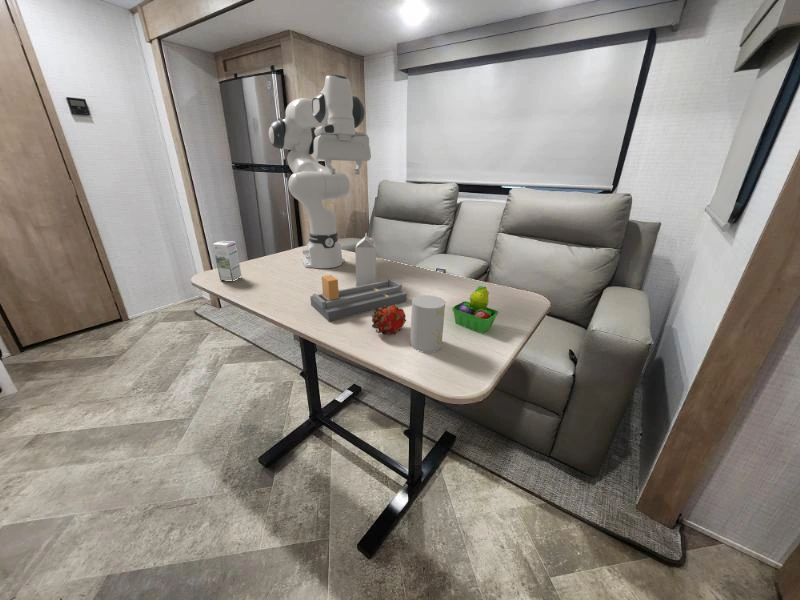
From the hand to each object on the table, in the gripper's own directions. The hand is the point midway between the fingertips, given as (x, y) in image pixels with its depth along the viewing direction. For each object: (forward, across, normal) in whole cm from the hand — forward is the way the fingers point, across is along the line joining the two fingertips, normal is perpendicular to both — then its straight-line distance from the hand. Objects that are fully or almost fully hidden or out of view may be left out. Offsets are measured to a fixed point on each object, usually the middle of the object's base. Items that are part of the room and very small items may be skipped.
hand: (345, 174), depth 114 cm
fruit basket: (+44, -13, +51) cm, 69 cm away
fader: (+38, +18, +20) cm, 46 cm away
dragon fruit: (+43, +10, +41) cm, 60 cm away
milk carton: (+40, -3, +5) cm, 40 cm away
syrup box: (+37, +39, -26) cm, 59 cm away
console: (+41, +8, +20) cm, 46 cm away
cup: (+44, +6, +52) cm, 68 cm away
